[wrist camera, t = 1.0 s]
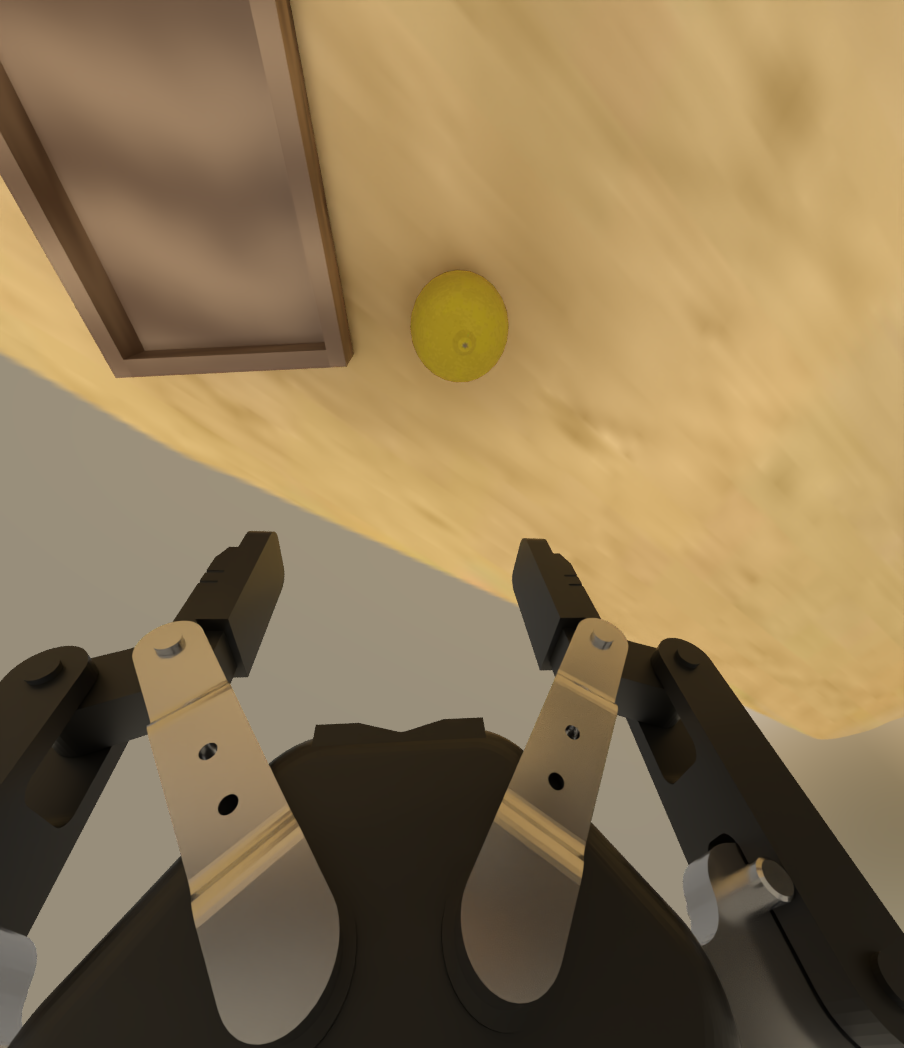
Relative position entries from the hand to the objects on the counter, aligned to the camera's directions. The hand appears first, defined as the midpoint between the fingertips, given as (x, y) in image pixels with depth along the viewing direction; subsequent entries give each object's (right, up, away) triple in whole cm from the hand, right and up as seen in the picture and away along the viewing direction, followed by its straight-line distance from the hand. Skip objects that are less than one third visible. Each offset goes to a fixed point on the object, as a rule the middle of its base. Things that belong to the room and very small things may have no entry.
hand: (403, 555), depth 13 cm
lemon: (+2, +15, +12) cm, 19 cm away
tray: (-12, +19, +7) cm, 24 cm away
